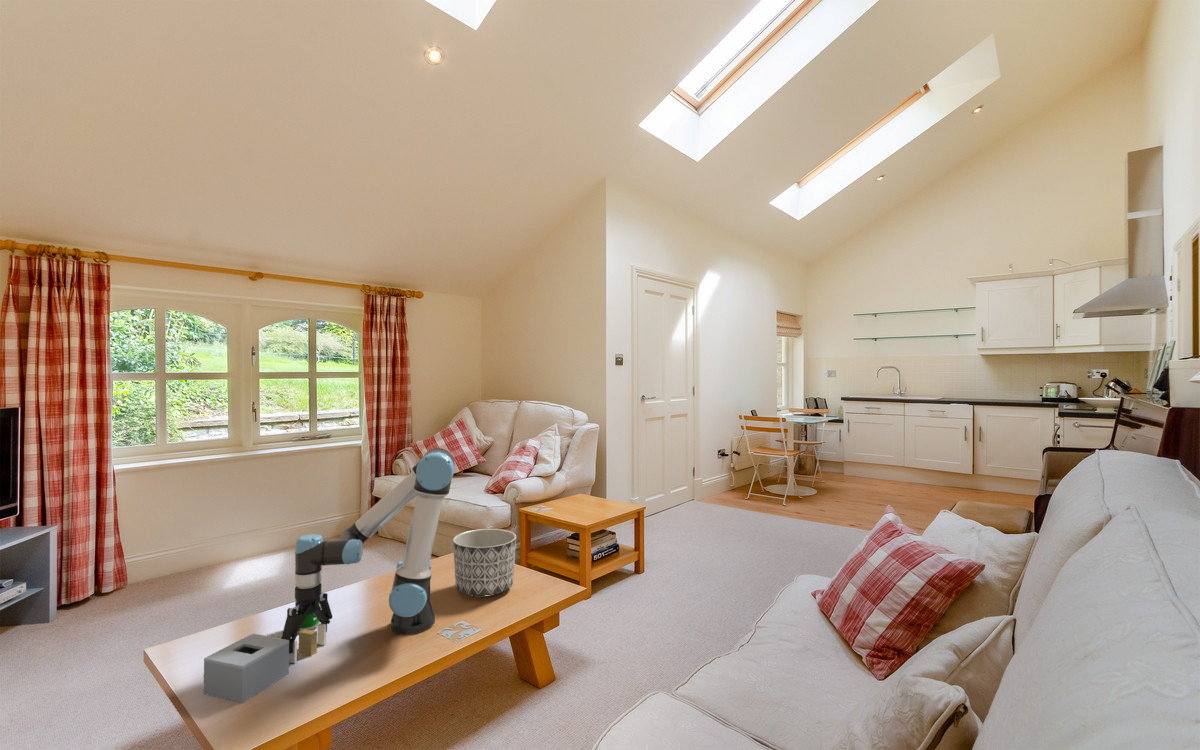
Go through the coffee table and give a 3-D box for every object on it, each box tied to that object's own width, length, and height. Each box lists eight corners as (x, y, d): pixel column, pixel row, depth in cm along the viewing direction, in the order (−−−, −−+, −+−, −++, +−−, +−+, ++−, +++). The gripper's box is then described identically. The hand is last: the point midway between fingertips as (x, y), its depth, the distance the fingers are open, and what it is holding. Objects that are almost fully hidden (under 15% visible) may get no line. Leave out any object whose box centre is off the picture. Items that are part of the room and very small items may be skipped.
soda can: (308, 634, 183) (309, 599, 183) (289, 632, 184) (290, 597, 184) (324, 624, 190) (324, 590, 190) (305, 622, 192) (306, 589, 192)
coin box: (288, 673, 159) (289, 640, 159) (242, 703, 144) (242, 666, 144) (252, 666, 163) (252, 633, 163) (203, 694, 148) (204, 658, 148)
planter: (467, 576, 237) (467, 527, 237) (523, 579, 234) (523, 530, 234) (441, 600, 211) (442, 545, 211) (504, 605, 208) (505, 549, 208)
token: (316, 652, 171) (316, 631, 171) (311, 656, 169) (311, 634, 169) (304, 650, 172) (304, 629, 172) (298, 653, 170) (298, 632, 170)
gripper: (326, 570, 183) (326, 634, 183) (267, 597, 160) (266, 670, 160) (344, 572, 181) (344, 637, 181) (286, 600, 158) (285, 674, 158)
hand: (307, 652), depth 170 cm, fingers open, 11 cm apart
